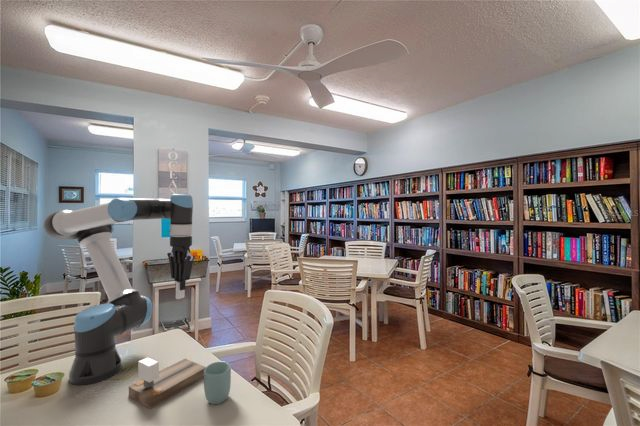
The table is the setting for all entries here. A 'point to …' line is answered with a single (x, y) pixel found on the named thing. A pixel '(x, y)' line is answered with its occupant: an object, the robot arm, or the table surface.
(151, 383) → the fader knob
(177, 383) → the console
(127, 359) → the table surface
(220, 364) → the cup
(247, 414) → the table surface
